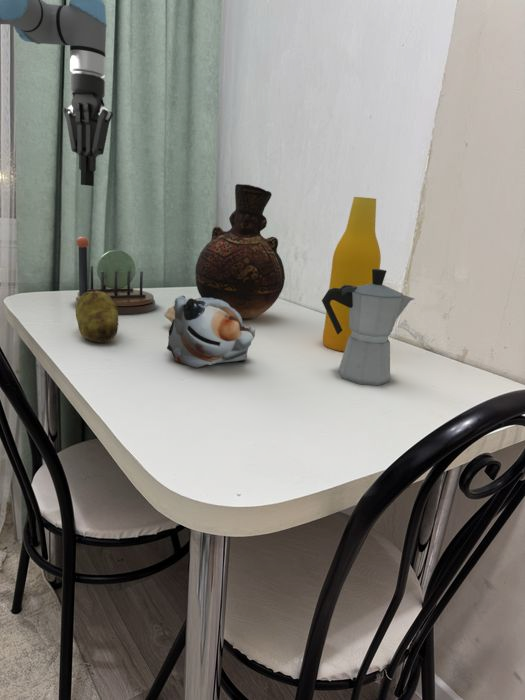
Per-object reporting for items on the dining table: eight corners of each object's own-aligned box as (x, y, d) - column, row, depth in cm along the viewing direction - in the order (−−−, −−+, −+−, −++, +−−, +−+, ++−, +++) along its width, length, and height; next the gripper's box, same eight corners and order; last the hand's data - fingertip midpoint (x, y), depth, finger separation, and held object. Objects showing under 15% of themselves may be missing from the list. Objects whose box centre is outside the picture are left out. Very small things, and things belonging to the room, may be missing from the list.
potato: (66, 345, 87) (65, 299, 85) (79, 326, 99) (79, 286, 97) (116, 347, 89) (116, 302, 86) (123, 328, 101) (123, 289, 99)
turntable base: (58, 305, 115) (58, 298, 115) (112, 295, 131) (112, 289, 131) (121, 318, 109) (121, 311, 108) (169, 306, 124) (170, 300, 124)
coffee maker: (393, 370, 90) (410, 268, 84) (408, 388, 81) (428, 276, 76) (309, 364, 89) (322, 261, 84) (317, 381, 80) (331, 268, 75)
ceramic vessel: (182, 318, 114) (188, 178, 106) (204, 304, 130) (211, 183, 122) (273, 329, 111) (287, 186, 102) (285, 314, 127) (297, 190, 119)
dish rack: (88, 307, 108) (88, 240, 104) (67, 292, 121) (66, 232, 117) (165, 304, 118) (167, 243, 114) (137, 290, 131) (138, 235, 127)
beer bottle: (313, 344, 102) (330, 194, 94) (337, 338, 109) (356, 197, 101) (352, 356, 96) (375, 197, 88) (375, 348, 103) (398, 200, 95)
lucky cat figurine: (258, 355, 91) (276, 295, 81) (228, 398, 82) (245, 338, 73) (186, 320, 93) (195, 258, 84) (149, 359, 85) (155, 295, 75)
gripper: (121, 80, 115) (119, 188, 122) (77, 80, 120) (77, 184, 126) (99, 71, 108) (97, 186, 115) (53, 71, 113) (54, 181, 120)
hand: (87, 185), depth 121 cm, fingers closed
